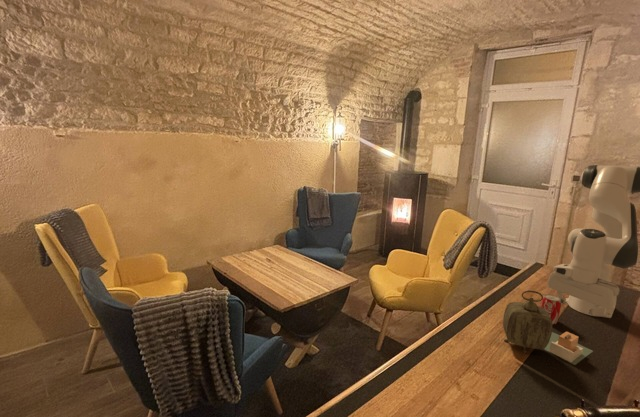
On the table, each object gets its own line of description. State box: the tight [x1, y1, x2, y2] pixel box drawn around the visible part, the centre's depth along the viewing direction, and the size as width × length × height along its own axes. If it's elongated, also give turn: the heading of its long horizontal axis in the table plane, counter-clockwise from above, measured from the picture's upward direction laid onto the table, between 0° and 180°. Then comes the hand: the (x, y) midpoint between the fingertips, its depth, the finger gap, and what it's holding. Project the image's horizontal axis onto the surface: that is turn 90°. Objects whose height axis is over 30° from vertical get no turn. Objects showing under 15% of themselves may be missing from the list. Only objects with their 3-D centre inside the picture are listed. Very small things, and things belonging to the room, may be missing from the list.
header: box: [549, 341, 583, 363], centre depth 125 cm, size 9×7×4 cm
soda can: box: [540, 294, 562, 325], centre depth 147 cm, size 7×7×12 cm
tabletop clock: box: [502, 290, 553, 354], centre depth 125 cm, size 14×9×25 cm, turn 71°
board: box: [543, 331, 594, 366], centre depth 131 cm, size 16×20×1 cm
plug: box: [558, 331, 579, 352], centre depth 124 cm, size 6×4×8 cm, turn 122°
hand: (576, 308), depth 122 cm, fingers open, 8 cm apart
